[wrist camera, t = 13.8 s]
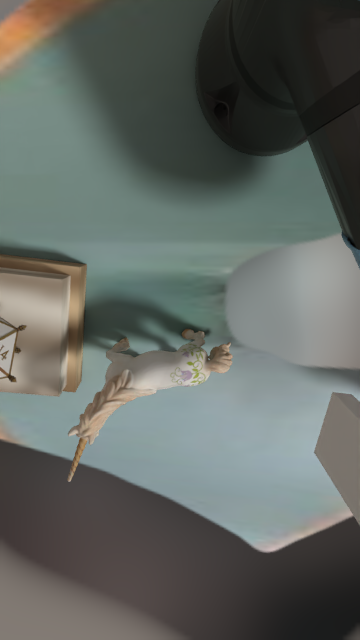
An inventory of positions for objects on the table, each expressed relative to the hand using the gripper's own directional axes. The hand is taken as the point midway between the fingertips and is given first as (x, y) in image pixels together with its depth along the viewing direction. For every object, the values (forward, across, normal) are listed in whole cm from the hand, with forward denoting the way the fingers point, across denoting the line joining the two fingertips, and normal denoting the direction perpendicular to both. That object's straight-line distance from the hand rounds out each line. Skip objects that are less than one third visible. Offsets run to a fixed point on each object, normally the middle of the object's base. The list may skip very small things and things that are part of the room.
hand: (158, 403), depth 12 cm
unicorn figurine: (+28, 0, -12) cm, 30 cm away
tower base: (+27, -17, -7) cm, 33 cm away
